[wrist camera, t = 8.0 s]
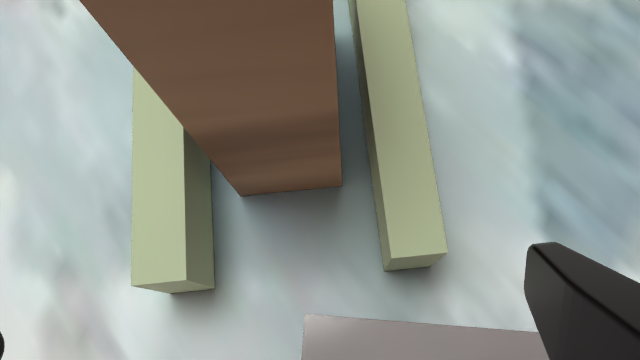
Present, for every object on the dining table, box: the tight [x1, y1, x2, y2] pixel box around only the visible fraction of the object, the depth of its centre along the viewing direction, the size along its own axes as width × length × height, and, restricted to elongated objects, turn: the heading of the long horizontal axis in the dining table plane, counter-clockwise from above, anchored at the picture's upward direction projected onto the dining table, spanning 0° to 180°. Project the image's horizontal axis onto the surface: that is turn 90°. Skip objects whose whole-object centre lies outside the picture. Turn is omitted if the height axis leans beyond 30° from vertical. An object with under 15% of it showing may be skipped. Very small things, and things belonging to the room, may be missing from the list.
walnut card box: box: [80, 0, 342, 196], centre depth 12 cm, size 6×4×12 cm, turn 5°
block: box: [131, 0, 448, 293], centre depth 17 cm, size 14×8×3 cm, turn 6°
